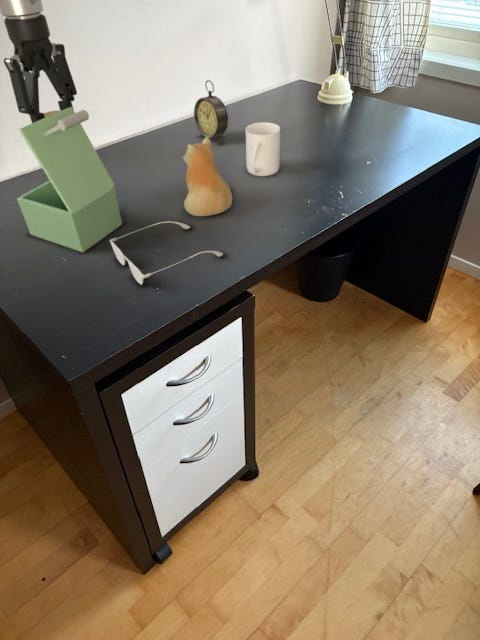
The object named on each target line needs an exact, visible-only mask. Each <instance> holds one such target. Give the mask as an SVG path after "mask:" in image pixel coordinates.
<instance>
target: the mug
mask: <svg viewBox="0 0 480 640" xmlns="http://www.w3.org/2000/svg"><path fill="white" fill-rule="evenodd" d="M245 157H246V158H245V159H246V160H245V162H246V170H247V172H248V173H249V174H251V175H252V176H256V177H269V176H273V175H275V174H276V173H278V171H279V170H280V164H281V163H280V162H281V161H280V160H281V159H280V158H281V126H280V125H278V124H276V123H273V122H255V123H251V124H248V125H247V126H246V127H245Z"/></svg>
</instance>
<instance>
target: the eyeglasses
mask: <svg viewBox="0 0 480 640" xmlns="http://www.w3.org/2000/svg"><path fill="white" fill-rule="evenodd" d="M167 223H170V224H175V225H179V226H180V227H181V228H182V229H184V230H188V229H190V228H191V226H190V225H188V224H185V223H184V222H179V221H172V220H171V221H170V220H169V221H168V220H167V221H166V220H165V221H160V222H157V223H156V222H155V223H154V224H151V225H149V226H146V227H142V228H140V229H137V230H134V231H132V232H129V233H127V234H124V235H122V236H120V237H114V238H111V239H109V243H110V245H111V249H112V251H113V253H114V255H115V257H116V259H117V260H118V262H119V263H120V264H121V265H122V266H125V265H126V262H127V263H128V266H129V269H130V272H131V274H132V276H133V278H134V279H135V281H136V282H137V283H139V285H143V284H144V279H147V278H149V277H151V276H152V275H153V274H156V273H158V272H160V271H163V270H166V269H168V268H171V267H173V266H175V265H178V264H180V263H183V262H184V261H187V260H189V259H193V258H194V257H195V256H198V255H200V254H204V253H211V254H214V255H215V256H216V257H218V258H220V257H223V255H224V253H223V252H221V251H219V250H204V251H200V252H197V253H195V254H193V255H191V256H189V257H187V258H186V259H183V260H181V261H179V262H177V263H174V264H171V265H169V266H166V267H164V268H161V269H159V270H157V271H154V272H148V273H146V274H144V273H142V271H141V270H140V269H139V268H138V267H137V266H136V265H135V264H134V263H133V262H132V261H131V260H130V259H129V258H128V257H127V256H126V255H125V254H124V253H123V252H122V250H121V249H120V248H119V247H118V246H117V244H115V243H114V242H116V241H118V240H119V239H122V238H123V237H126V236H128V235H131V234H133V233H136V232H138V231H141V230H144V229H147V228H149V227H152V226H156V225H160V224H167Z"/></svg>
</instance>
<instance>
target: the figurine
mask: <svg viewBox="0 0 480 640" xmlns="http://www.w3.org/2000/svg"><path fill="white" fill-rule="evenodd" d="M182 159H183V161H184V162H185V164H186V166H187V170H186V174H185V175H186V176H185V182H186V187H187V189H188V193H187V195H186V197H185V199H184V201H183V202H184V209H185V211H186V212H187V213H188V214H190V215H192V216H194V217H208V216H209V217H210V216H214V215H217V214H220V213H224V212H225V211H227V210H228V209H230V208H231V207H232V204H233V193H232V190H231V188H230V186H229V184H228V183H227V182H226V180H225V179H224V178H223V177H222V176H221V173H220V172H219V170H218V168H217V166H216V163H215V155H214V152H213V150H212V141H211V139H209V138H208V137H205V138H204V139H203V140H202V142H197V143H193V144H188V145H187V148H186V151H185V154H182Z"/></svg>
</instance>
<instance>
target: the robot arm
mask: <svg viewBox="0 0 480 640" xmlns="http://www.w3.org/2000/svg"><path fill="white" fill-rule="evenodd" d="M43 11H44V7H43V3H42V0H0V14H1V16H3V17H5V18H4V20H3V22H4V26H5V29H6V32H7V35H8V39H9V40H10V41H11V43H12V45H13V55H12V56H10V57H9V58H8V57H5V58H3V64H4V66H5V67H6V69H7V72H8V74H9V77H10V82H11V87H12V90H13V94H14V98H15V102H16V106H17V108H18V112H19V113H20V114H25V115H29V118H30V122H31V124H32V123H34V122H37V121H39V120H41V119H43V118H45V116H44V113H45V112H40V93H39V92H40V91H39V89H40V88H39V78H40V76H41V74H40V72H41V71H42V72H44V73H45V75H46V77H47V79H48V80H49V82H50V83H51V85H52V87H53V89H54V90H55V92H56V94H57V96H58V98H59V99H60V100H57V104H58V107H59V110H64V109H66V108H69V107H72V109H73V111H74V112H75V110H74V107H73V103H72V102H74V101H75V96H76V95H77V94H78V90H77V88H76V85H75V81H74V79H73V76H72V73H71V69H70V67H69V64H68V60H67V58H66V50H65V49H66V48H65V45H64V44H62V43H55V42H53V43H52V42H51V40H50V36H51V32H50V29H49V25H48V21H47V17H46V15H44V14H43Z"/></svg>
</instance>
